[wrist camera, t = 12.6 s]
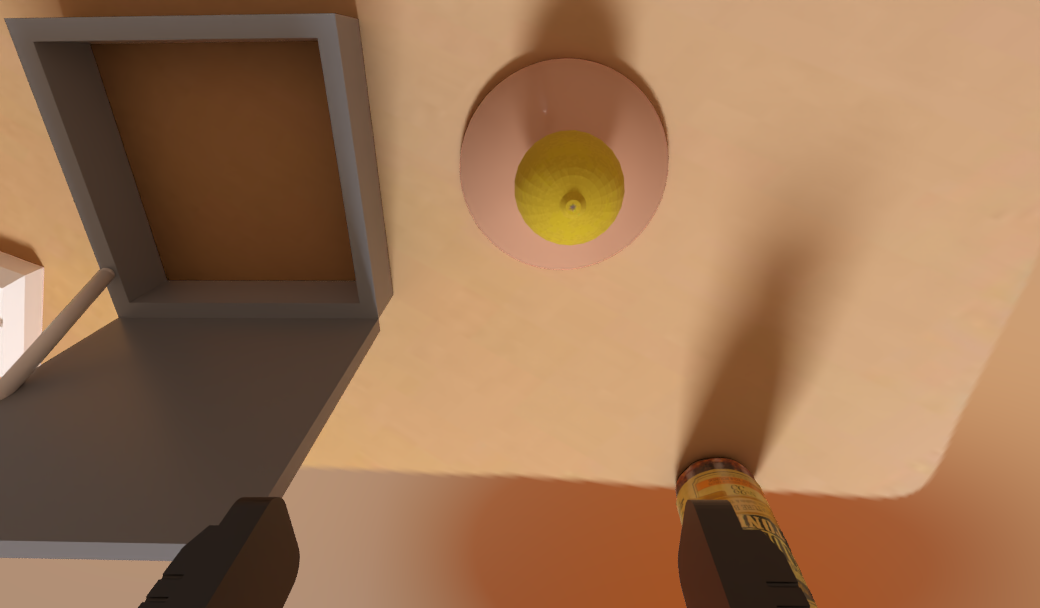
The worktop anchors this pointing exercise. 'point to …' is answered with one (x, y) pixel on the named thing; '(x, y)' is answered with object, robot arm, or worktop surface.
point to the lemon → (569, 187)
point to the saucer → (548, 109)
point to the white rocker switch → (19, 307)
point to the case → (176, 323)
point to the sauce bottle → (736, 502)
